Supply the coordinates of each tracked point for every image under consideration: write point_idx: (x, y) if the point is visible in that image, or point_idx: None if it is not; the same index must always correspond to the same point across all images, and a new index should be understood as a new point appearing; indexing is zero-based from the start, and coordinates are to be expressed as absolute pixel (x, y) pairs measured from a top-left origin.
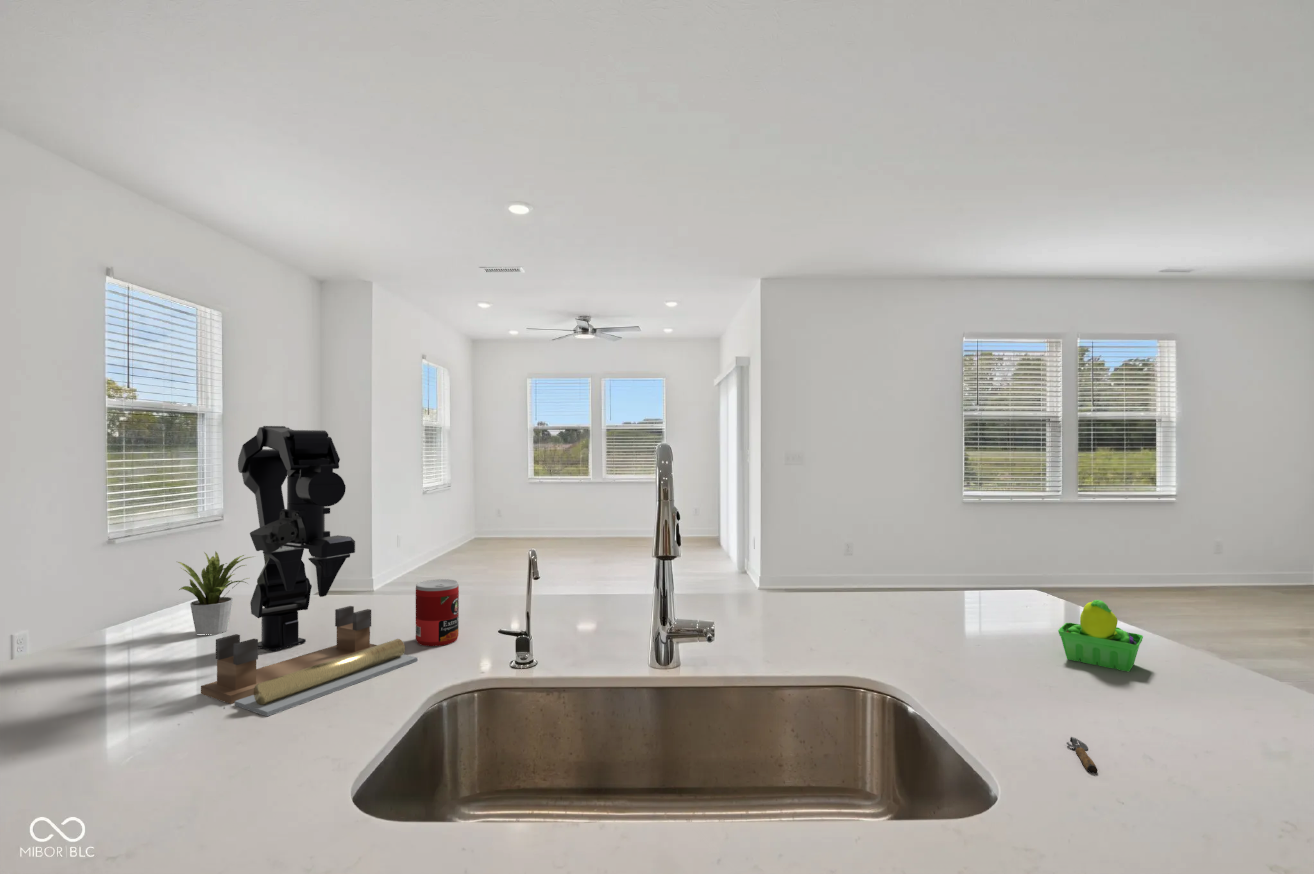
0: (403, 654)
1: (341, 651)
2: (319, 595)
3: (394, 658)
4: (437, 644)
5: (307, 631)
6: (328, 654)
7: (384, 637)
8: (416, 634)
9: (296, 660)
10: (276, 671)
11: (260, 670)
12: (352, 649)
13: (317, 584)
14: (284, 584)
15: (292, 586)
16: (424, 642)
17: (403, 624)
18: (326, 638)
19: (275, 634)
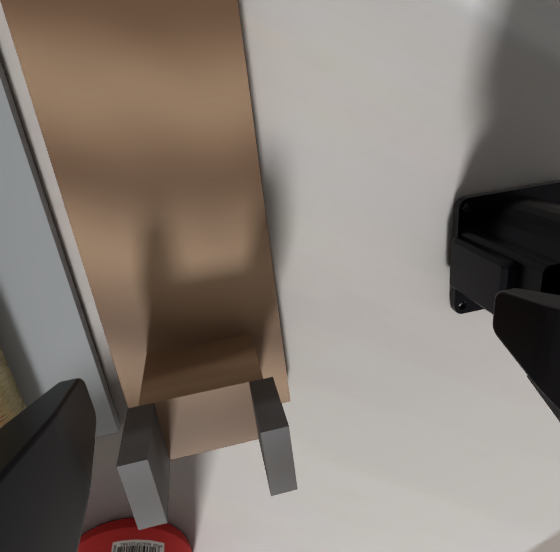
0: None
1: (192, 328)
2: (66, 381)
3: None
4: None
5: None
6: (195, 285)
7: None
8: (143, 541)
9: (220, 178)
10: (139, 59)
11: (206, 21)
12: (160, 356)
13: (34, 438)
14: (555, 297)
15: (511, 339)
16: (98, 532)
17: (361, 545)
18: (435, 365)
19: (510, 230)
